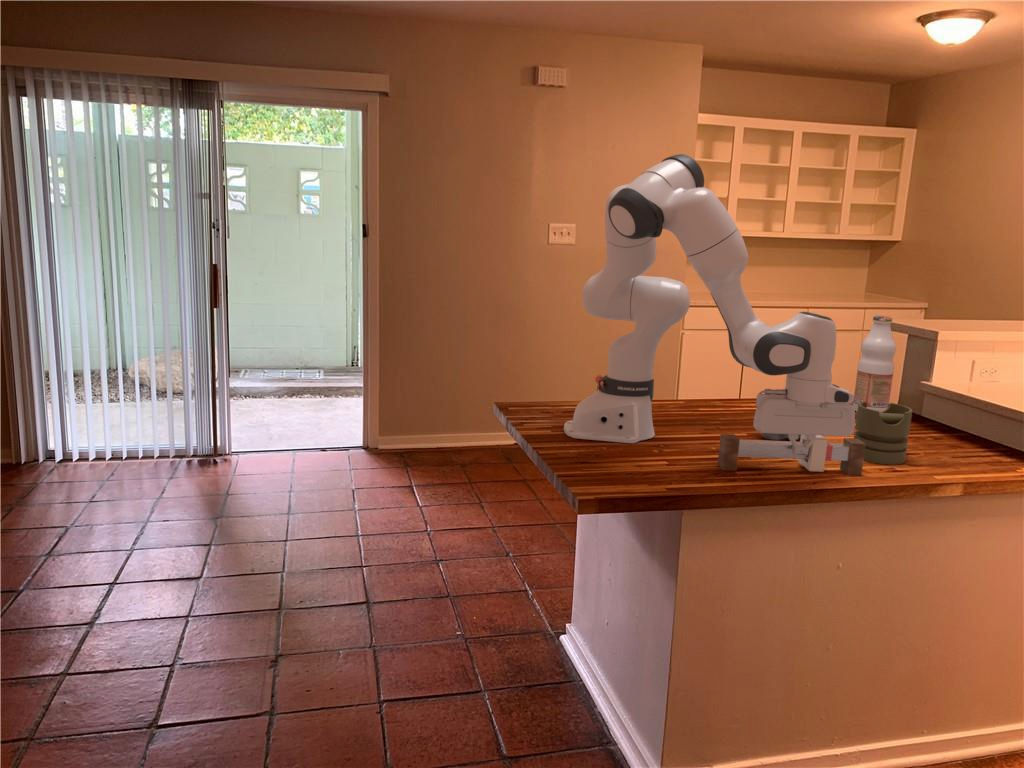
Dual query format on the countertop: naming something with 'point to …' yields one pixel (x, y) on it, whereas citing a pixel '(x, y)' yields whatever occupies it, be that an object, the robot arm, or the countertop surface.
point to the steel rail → (788, 450)
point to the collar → (815, 454)
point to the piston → (884, 433)
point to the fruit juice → (876, 366)
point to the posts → (850, 467)
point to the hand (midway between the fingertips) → (799, 454)
